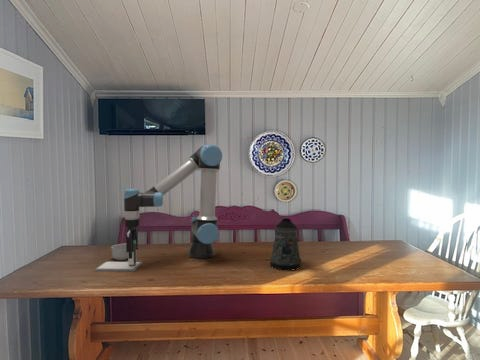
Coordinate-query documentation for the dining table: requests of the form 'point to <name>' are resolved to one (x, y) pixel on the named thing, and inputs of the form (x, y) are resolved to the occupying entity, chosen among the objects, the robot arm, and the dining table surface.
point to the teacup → (119, 252)
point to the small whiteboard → (117, 266)
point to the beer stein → (285, 247)
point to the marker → (134, 252)
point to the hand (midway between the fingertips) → (132, 263)
